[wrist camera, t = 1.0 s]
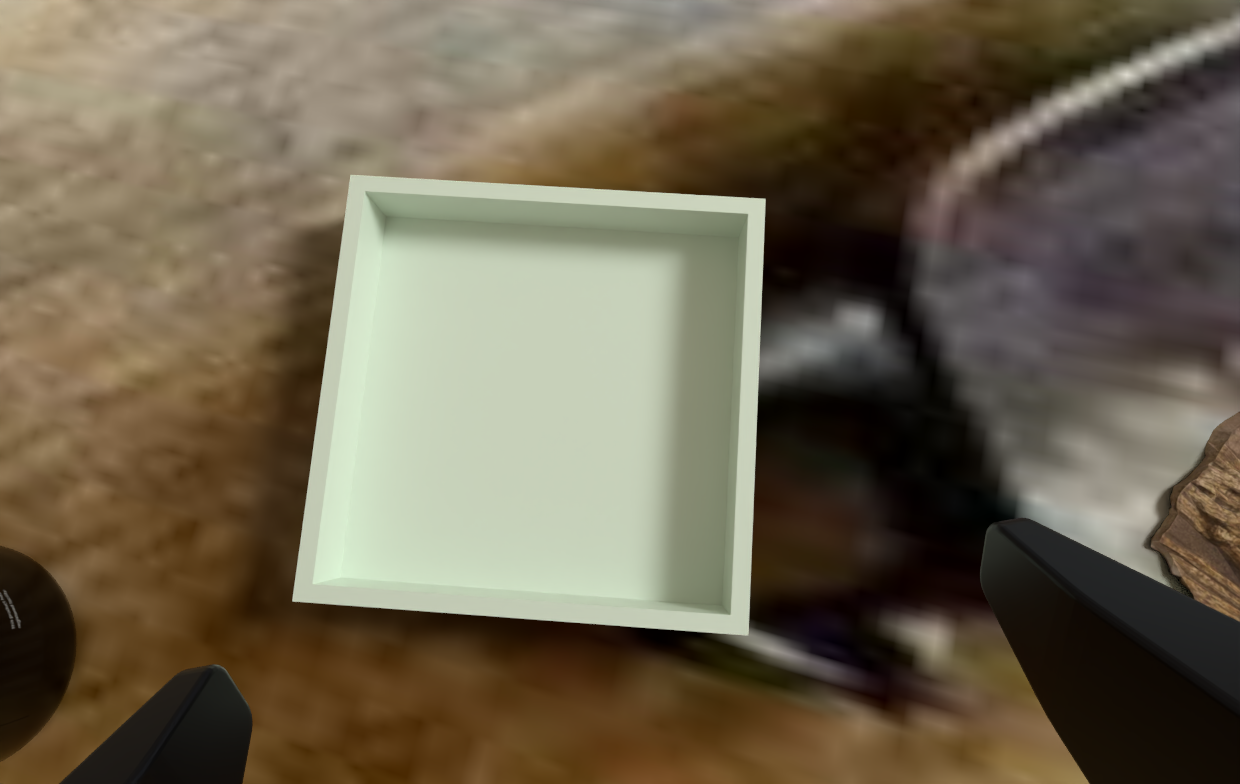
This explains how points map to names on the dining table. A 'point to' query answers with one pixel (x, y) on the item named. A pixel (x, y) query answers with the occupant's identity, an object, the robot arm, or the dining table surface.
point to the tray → (539, 406)
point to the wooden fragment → (1208, 524)
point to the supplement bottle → (31, 649)
